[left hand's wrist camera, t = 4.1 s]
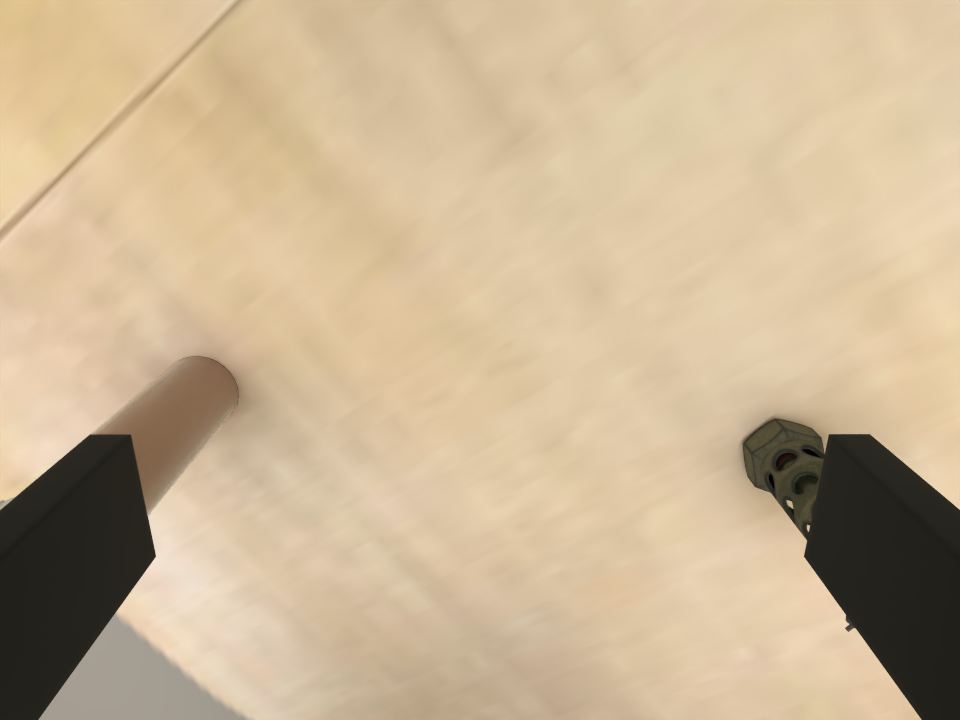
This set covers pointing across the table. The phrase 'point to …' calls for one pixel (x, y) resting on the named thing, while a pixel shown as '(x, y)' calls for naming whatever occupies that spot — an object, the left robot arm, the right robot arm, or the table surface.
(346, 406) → the table surface
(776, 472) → the grenade
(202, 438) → the jar
